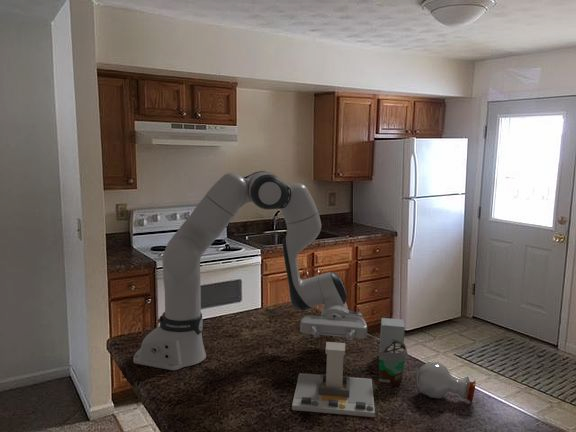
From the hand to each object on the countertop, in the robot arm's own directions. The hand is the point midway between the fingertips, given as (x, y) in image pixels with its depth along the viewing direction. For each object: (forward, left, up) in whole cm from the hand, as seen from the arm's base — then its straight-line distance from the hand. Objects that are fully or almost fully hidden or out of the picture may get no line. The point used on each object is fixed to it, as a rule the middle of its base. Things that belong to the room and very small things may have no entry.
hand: (332, 336), depth 135 cm
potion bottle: (+31, -6, -13) cm, 34 cm away
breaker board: (+1, -9, -13) cm, 16 cm away
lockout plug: (+1, -8, -12) cm, 14 cm away
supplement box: (+19, +17, -13) cm, 28 cm away
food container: (+19, +3, -13) cm, 23 cm away
